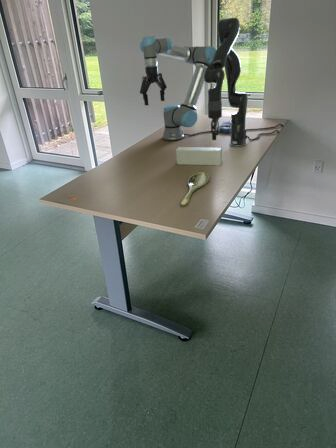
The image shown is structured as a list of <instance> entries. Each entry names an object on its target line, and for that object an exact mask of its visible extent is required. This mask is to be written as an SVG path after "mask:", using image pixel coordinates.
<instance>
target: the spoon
mask: <svg viewBox="0 0 336 448" xmlns="http://www.w3.org/2000/svg"><path fill="white" fill-rule="evenodd" d="M209 180H210V176H209V174H208V173H206V172H203V171H200V172H199V171H198V172H195V173H194V174H192V175H191V176H189V178H188V180H187V185H188V187H189V188H188V189H189V190H188V192H187V193H186V195H185V196H184V197H183V198H182V200H181V202H180V206H183V207H185V206H187V205H188V203H189V201H190V199H191V197H192V195H193V193H194V191H196V190H197V189H199V188H201V187H203V186H205V185H206V184H207V183H208V182H209Z"/></svg>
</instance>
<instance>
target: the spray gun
mask: <svg viewBox="0 0 336 448" xmlns="http://www.w3.org/2000/svg"><path fill="white" fill-rule="evenodd" d="M218 133H226V134H229V133H231V120H228V121H222V123H221V124H219V128H218Z"/></svg>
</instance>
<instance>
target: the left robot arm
mask: <svg viewBox="0 0 336 448" xmlns="http://www.w3.org/2000/svg"><path fill="white" fill-rule="evenodd" d="M139 48H140V51H141V52H142V53H143V59H144V60H143V61H144V66H145V68H144V70H145V75H146V76H145V75H144V76H142V77H141V78H142V79H141V80H142V81H141V85H140V90H139V94H141V95H142V99H143V101H144V106H149V96H148V94H147V93H148V91H149V89H150V86H151V85H152V84H154V83H155V84H156V85H157V86H158V87H159V95H160V96H159V97H160V101H161V102H165V101H166V100H165V94H166V93H165V90H166V89H167V88H168V87H167V84H166V82H165V80H164V78H163V73H162V72H159V67H158V56H162V57H167V58H171V59H176V60H180V61H181V62H182V63H187V64H190V65H193V66H194V67H195V69H194V72H193V75H192V78H191V81H190V83H189V86H188V90H187V92H186V95H185V98H184V101H183V102H182V103H181V104H172V105H166V106H165V107H163V113H162V114H163V123H164V130H163V135H162V139H163V140H164V141H167V142H176V141H180V140H182V139H184V137H185V136H189V137H193V136H196V135H199V134H207V133H211V130H207V131H200V132H196V133H192V134H189V133H184V132H183V129H182V128H192V127H194V126H195V125H196V123H197V121H198V118H199V116H198V113H197V111H198V108H197V104H198V101H199V99H200V96H201V93H202V90H203V87H204V84H205V80H204V73H205V71H206V69H207V67H208V66H209V65H210V63H211V62H212V60H213V57H214V54H215V51H216V50H217V48H216V47H215V46H211V45H207V46H205V45H204V46H186V45H185V46H179V45H175V44H173V41H172V40H171V39H170V38H169V37H164V38H156V37H155V36H154V35H151V36H143V37H142V40H141V41H140V43H139ZM279 126H281V127H284V125H283V123H282V124H281V123H278V124H276V125H275V126H269V127H259V128H245V130H246V131H258V130H269V129H275V128H277V127H279Z"/></svg>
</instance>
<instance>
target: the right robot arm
mask: <svg viewBox="0 0 336 448" xmlns="http://www.w3.org/2000/svg"><path fill="white" fill-rule="evenodd" d="M240 27H241V24H240V20H239V19H238V18H237V17H229V18H223V19H220V20H218V22H217V35H218V39H219V43H220V44H219V46H218V47H217V48H216V51H215V54H214V57H213V60H212V62H211V63H210V65H209V66H208V67H207V69H206V71H205V73H204V80H205V81H204V83H205V84H206V83H207V84H216V86H213V87H210V88H209V89H208V90H207V117H208V119H211V122H210V131H211V132H210V134H211V141H217V136H219V131H218V128H219V126H220V119H221V118H222V116H223V105H222V104H223V103H222V102H223V101H222V89H223V85H224V81H225V78H226V87H227V99H228V100H227V101H228V105H229V107H230V108H235V109H238V110H237V111H236V112H233V113H231V115H230V122H231V132H230V146H231V147H236V148H237V147H243V146H245V145H246V144H247V139H248V140H249V141H256V140H257V139H259V138H260V136H261V135H272V134H274V133H276V132H277V133H279V132H280V130H279V129H275V130H273V131H271V132H261V133H258V134H257V137H255V138H250V137H249V136H248V135H247V130H245V129H246V116H247V112H248V111H247V109H248V94H247V92H240V91H237V89H236V84H237V82H238V79H239V78H240V75H241V72H242V66H241V65H242V64H241V58H240V57H239V55H238V54H237V53H236V51H234V49H233V48H232V47H233V45H234V44H235V42H236V40H237V38H238V35H239V33H240Z"/></svg>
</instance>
